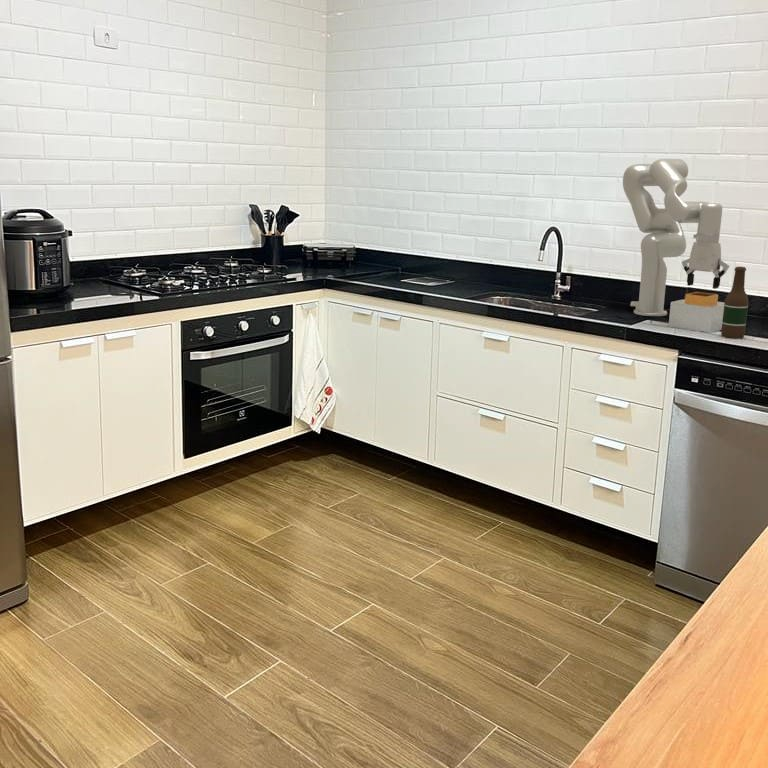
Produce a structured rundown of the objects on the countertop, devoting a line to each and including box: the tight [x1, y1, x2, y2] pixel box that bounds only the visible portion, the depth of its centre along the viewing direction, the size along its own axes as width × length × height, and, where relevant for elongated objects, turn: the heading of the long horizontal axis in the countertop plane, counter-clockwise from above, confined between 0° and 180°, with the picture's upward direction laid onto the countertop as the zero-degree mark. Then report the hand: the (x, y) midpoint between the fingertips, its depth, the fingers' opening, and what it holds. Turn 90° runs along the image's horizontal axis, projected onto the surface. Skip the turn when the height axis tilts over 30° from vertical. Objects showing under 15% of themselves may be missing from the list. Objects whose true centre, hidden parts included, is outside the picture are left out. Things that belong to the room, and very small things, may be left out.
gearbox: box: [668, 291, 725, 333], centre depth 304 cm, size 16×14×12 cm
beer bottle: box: [720, 266, 749, 339], centre depth 286 cm, size 8×8×24 cm
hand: (702, 286), depth 301 cm, fingers open, 9 cm apart
